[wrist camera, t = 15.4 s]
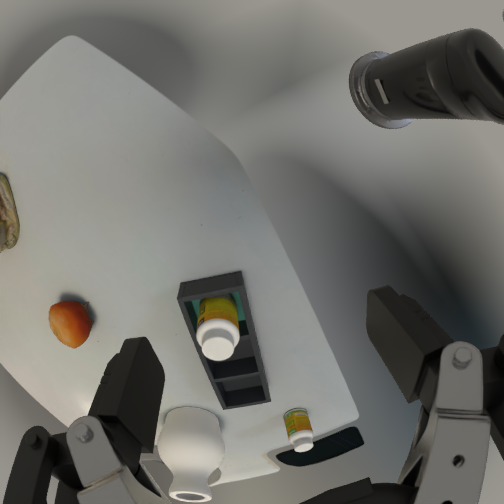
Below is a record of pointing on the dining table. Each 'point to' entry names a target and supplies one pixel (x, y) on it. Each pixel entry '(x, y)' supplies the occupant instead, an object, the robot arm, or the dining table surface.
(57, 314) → the fruit
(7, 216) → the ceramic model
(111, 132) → the dining table surface
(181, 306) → the rack
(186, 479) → the vase
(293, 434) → the supplement bottle
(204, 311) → the supplement bottle
